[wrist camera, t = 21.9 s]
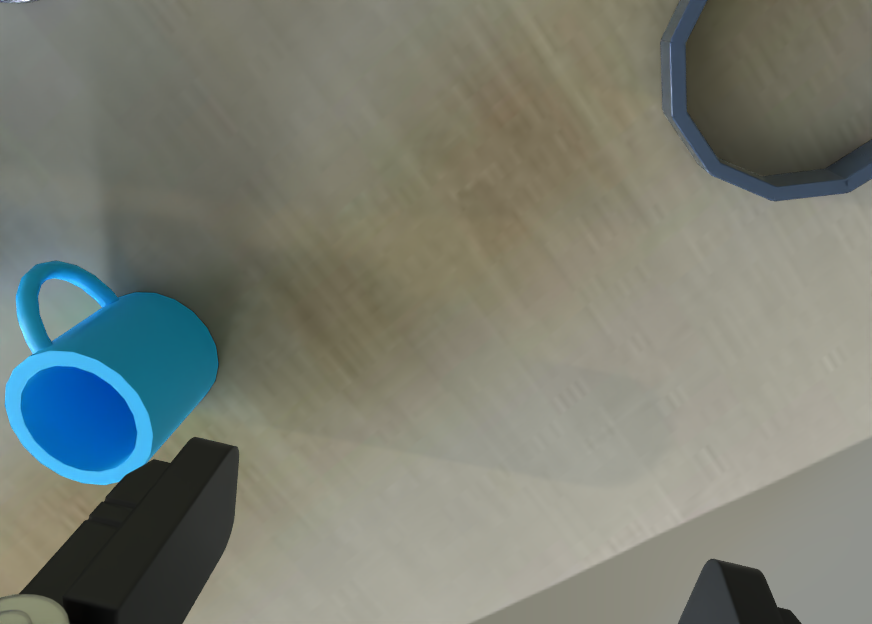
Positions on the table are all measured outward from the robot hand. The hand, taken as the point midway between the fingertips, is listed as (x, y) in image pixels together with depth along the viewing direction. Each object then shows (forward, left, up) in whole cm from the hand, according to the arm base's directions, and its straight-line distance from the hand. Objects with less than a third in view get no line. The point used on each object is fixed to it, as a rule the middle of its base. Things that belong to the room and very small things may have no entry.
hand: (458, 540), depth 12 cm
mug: (-7, -24, -28) cm, 37 cm away
